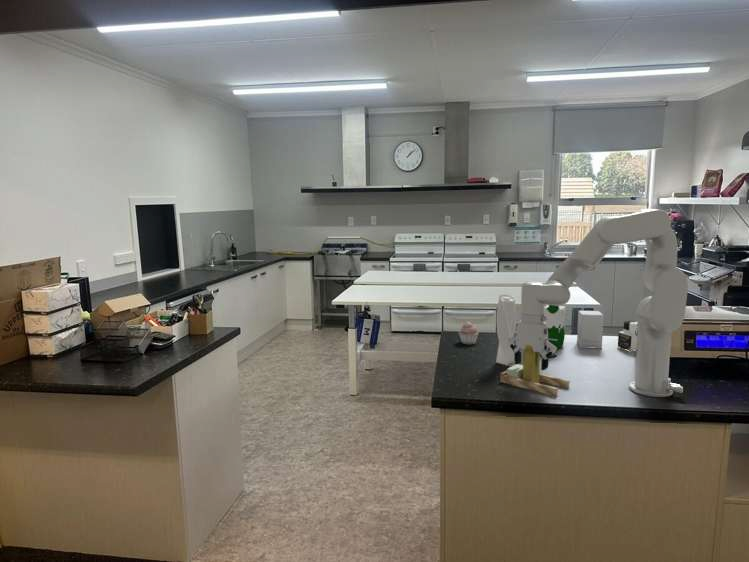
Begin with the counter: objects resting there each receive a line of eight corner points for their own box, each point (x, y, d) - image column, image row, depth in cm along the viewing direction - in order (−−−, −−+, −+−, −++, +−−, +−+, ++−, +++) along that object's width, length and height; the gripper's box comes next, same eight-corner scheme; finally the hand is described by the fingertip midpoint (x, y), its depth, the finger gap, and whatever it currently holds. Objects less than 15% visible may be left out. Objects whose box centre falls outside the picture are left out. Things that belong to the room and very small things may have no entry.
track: (569, 387, 165) (569, 378, 165) (556, 396, 158) (556, 386, 157) (514, 374, 179) (515, 366, 179) (500, 382, 172) (500, 373, 171)
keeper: (527, 378, 174) (527, 366, 173) (517, 383, 169) (517, 371, 168) (516, 375, 177) (517, 363, 176) (506, 381, 172) (507, 368, 171)
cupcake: (478, 340, 227) (478, 319, 225) (479, 345, 218) (480, 323, 216) (457, 339, 228) (457, 319, 227) (458, 345, 219) (458, 323, 217)
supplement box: (602, 349, 209) (604, 315, 207) (580, 348, 211) (581, 314, 209) (598, 343, 218) (599, 310, 216) (576, 342, 220) (578, 310, 218)
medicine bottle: (617, 347, 211) (618, 320, 209) (630, 346, 213) (631, 319, 211) (630, 352, 204) (631, 324, 202) (643, 350, 206) (645, 322, 204)
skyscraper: (508, 368, 186) (510, 296, 182) (491, 363, 193) (492, 293, 189) (521, 363, 192) (523, 293, 188) (504, 358, 198) (505, 291, 194)
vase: (541, 387, 166) (542, 347, 164) (522, 386, 167) (523, 346, 165) (538, 381, 172) (539, 342, 170) (520, 380, 173) (521, 341, 171)
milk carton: (540, 348, 212) (542, 303, 209) (545, 343, 220) (546, 299, 217) (561, 350, 207) (563, 304, 205) (565, 345, 215) (567, 301, 212)
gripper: (561, 319, 163) (559, 369, 165) (514, 313, 175) (513, 359, 177) (552, 323, 157) (550, 374, 160) (503, 316, 169) (502, 363, 172)
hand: (530, 366), depth 169 cm, fingers open, 9 cm apart
